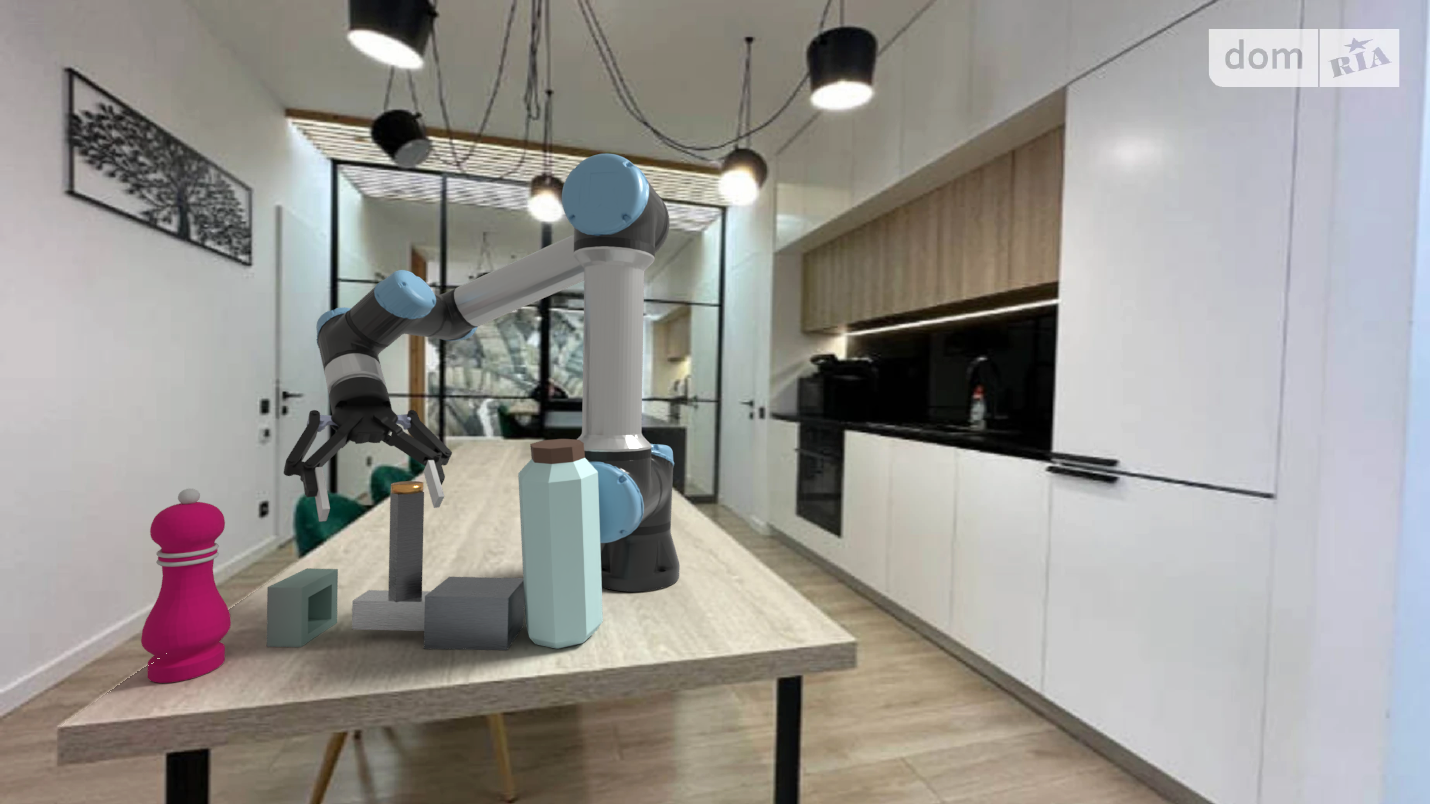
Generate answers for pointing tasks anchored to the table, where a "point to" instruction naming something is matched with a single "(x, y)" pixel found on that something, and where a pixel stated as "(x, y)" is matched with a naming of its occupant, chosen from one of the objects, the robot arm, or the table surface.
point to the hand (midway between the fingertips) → (385, 508)
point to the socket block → (301, 607)
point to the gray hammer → (399, 568)
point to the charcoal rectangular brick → (474, 613)
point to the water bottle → (560, 544)
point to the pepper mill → (186, 593)
